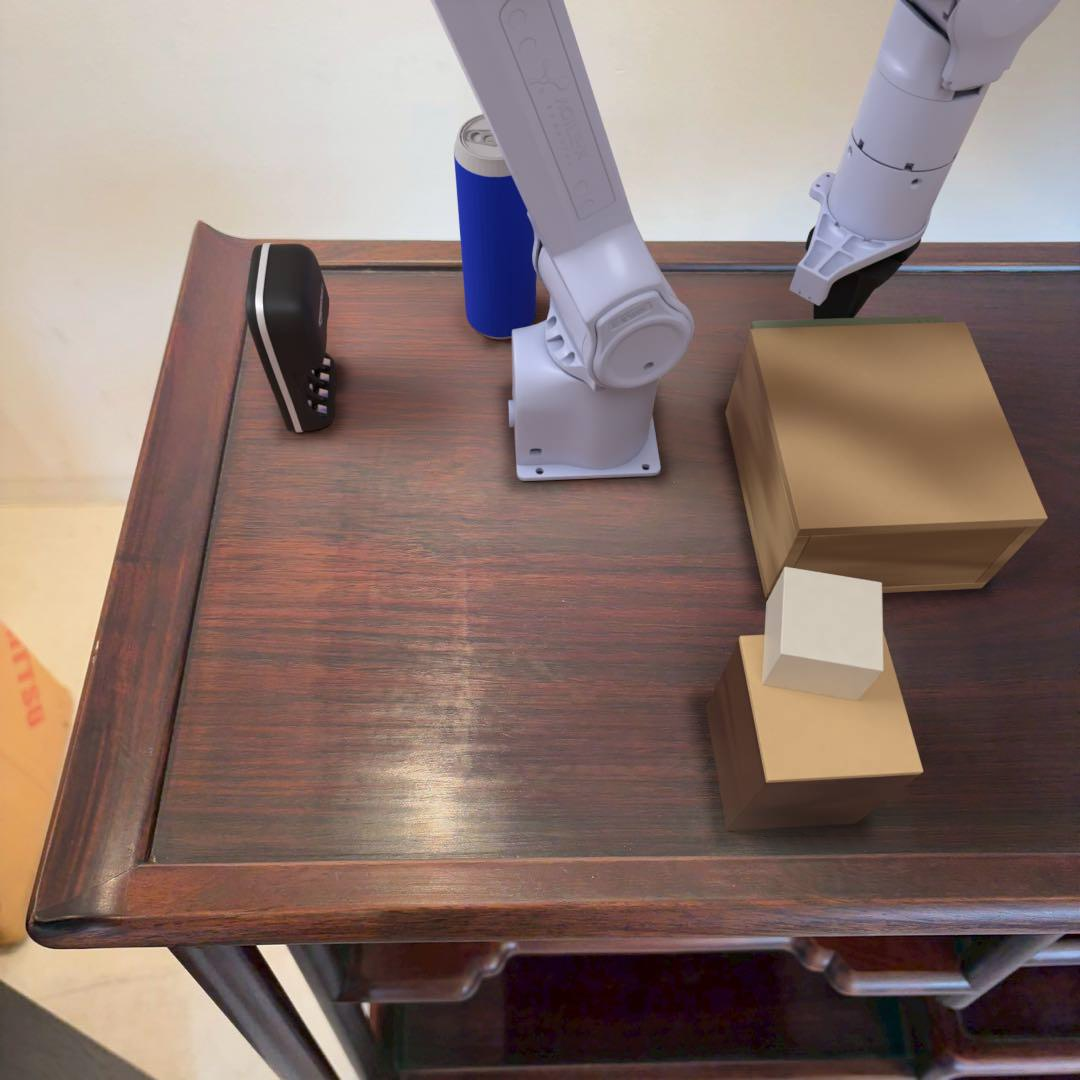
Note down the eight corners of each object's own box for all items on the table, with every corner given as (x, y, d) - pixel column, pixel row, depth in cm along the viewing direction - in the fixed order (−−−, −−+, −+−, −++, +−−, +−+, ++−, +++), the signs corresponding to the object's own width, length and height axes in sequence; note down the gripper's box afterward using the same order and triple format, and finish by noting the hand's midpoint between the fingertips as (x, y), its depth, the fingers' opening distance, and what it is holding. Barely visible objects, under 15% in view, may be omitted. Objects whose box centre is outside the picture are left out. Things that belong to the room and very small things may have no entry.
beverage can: (539, 296, 67) (542, 112, 54) (532, 346, 65) (534, 165, 52) (471, 290, 67) (459, 106, 55) (461, 340, 65) (446, 159, 52)
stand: (726, 831, 47) (765, 783, 39) (705, 705, 51) (738, 639, 43) (855, 823, 47) (920, 774, 40) (826, 699, 51) (880, 632, 43)
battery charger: (343, 435, 60) (308, 310, 50) (287, 437, 60) (240, 313, 50) (348, 358, 64) (316, 227, 54) (294, 360, 64) (252, 230, 54)
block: (761, 684, 41) (780, 653, 38) (766, 602, 44) (784, 565, 40) (857, 701, 41) (884, 671, 38) (856, 617, 43) (882, 582, 40)
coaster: (765, 783, 39) (768, 780, 39) (738, 639, 43) (739, 635, 43) (920, 774, 40) (924, 771, 39) (880, 632, 43) (883, 628, 43)
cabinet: (724, 412, 62) (750, 328, 55) (916, 405, 62) (965, 321, 55) (764, 598, 54) (800, 528, 47) (982, 588, 55) (1048, 518, 48)
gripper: (902, 53, 52) (833, 239, 64) (769, 172, 46) (720, 353, 58) (1014, 100, 50) (921, 284, 62) (890, 232, 44) (814, 408, 56)
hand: (830, 321), depth 60 cm, fingers closed
